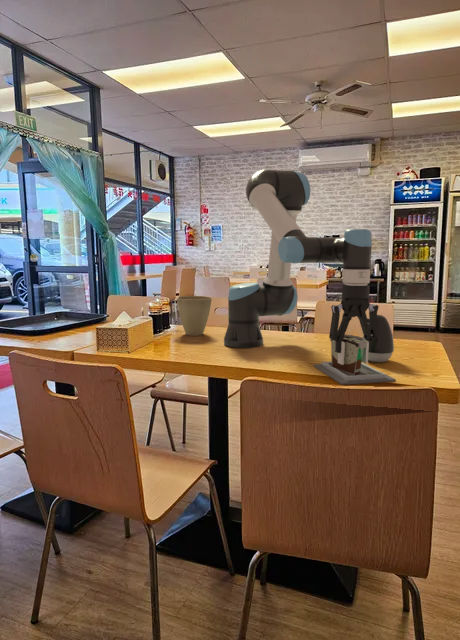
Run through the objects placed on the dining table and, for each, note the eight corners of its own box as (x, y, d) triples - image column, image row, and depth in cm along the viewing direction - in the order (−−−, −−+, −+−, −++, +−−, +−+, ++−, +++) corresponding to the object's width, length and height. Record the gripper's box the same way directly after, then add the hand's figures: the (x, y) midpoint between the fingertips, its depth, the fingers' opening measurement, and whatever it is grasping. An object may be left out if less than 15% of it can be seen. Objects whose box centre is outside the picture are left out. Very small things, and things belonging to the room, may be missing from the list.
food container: (373, 374, 128) (376, 339, 127) (358, 376, 125) (360, 341, 124) (343, 364, 139) (345, 332, 137) (328, 366, 136) (330, 334, 134)
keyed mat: (313, 366, 139) (313, 361, 139) (360, 363, 142) (361, 358, 142) (341, 384, 120) (341, 378, 119) (395, 381, 123) (396, 375, 122)
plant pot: (179, 338, 185) (179, 299, 182) (175, 331, 199) (174, 296, 196) (215, 336, 188) (214, 298, 186) (208, 330, 202) (208, 295, 200)
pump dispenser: (357, 356, 152) (359, 312, 150) (388, 357, 151) (391, 312, 149) (363, 364, 142) (365, 316, 140) (396, 364, 141) (399, 317, 138)
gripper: (328, 285, 121) (326, 367, 125) (394, 284, 125) (390, 364, 129) (318, 283, 129) (315, 361, 132) (380, 283, 132) (377, 358, 136)
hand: (352, 362), depth 130 cm, fingers open, 7 cm apart
